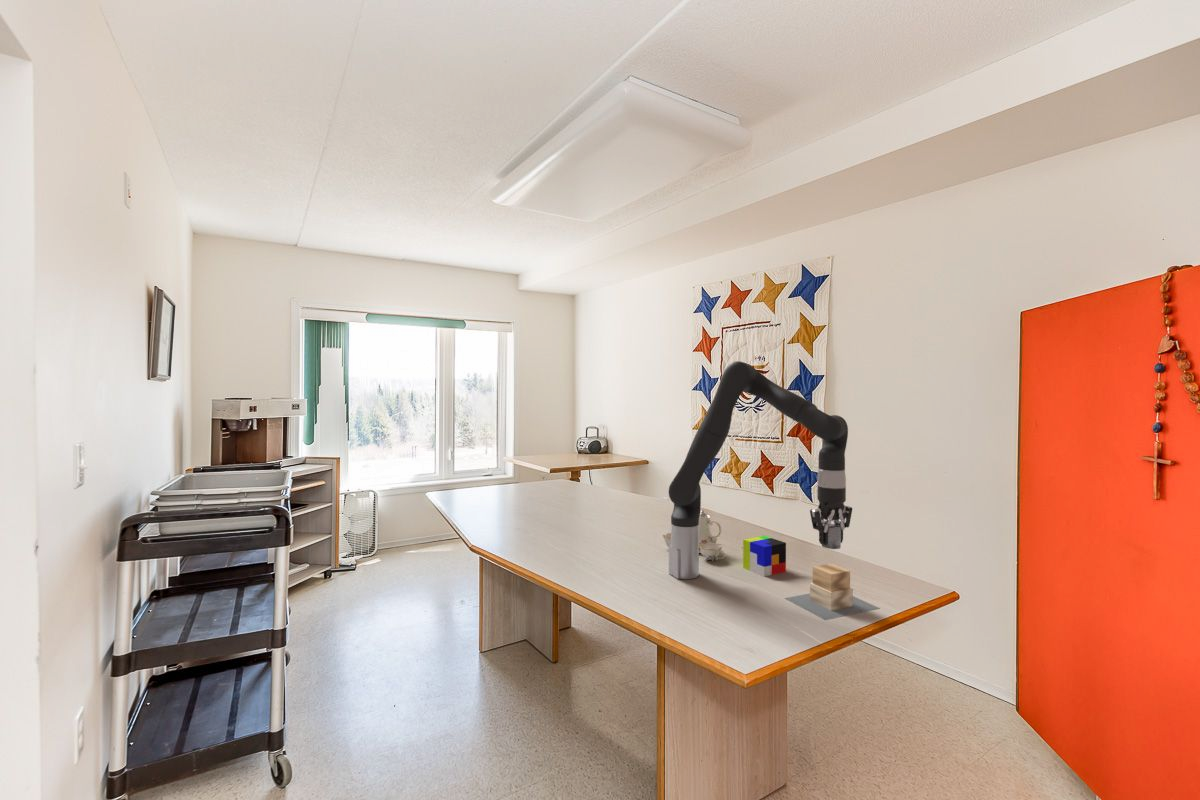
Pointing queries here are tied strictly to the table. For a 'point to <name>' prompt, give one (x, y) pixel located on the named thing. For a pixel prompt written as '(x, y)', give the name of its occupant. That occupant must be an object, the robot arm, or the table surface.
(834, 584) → the top block
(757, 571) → the puzzle toy
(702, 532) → the chinaware
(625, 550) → the table surface
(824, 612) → the slate mat
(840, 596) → the base block
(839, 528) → the metal cylinder
